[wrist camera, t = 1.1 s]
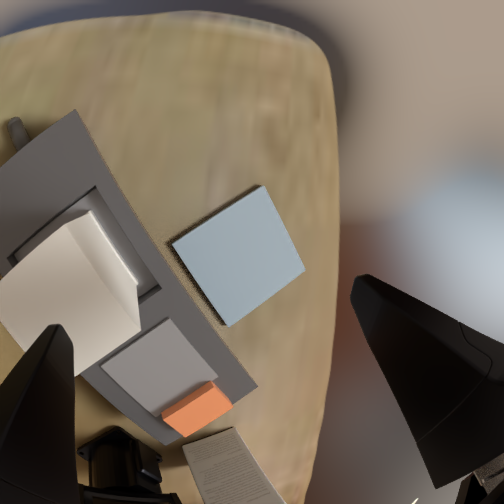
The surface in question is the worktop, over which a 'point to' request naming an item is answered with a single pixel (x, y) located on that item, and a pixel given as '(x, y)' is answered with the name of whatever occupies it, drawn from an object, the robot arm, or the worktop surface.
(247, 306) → the mat
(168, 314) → the gray recessed block
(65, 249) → the block
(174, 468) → the worktop surface
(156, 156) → the worktop surface
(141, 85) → the worktop surface
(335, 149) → the worktop surface
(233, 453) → the skincare box
